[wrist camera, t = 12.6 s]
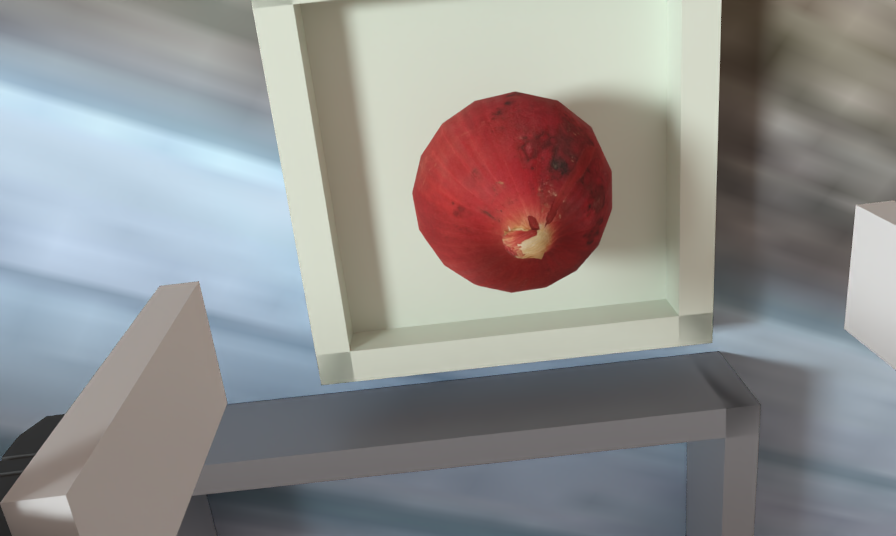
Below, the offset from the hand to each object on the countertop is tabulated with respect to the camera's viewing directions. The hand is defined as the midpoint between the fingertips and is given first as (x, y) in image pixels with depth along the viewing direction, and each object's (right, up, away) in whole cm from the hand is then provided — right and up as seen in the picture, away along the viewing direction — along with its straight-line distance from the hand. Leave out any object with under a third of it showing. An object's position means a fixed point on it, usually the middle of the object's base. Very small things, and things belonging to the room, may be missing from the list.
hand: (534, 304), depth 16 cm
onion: (0, +4, +11) cm, 12 cm away
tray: (0, +5, +12) cm, 13 cm away
